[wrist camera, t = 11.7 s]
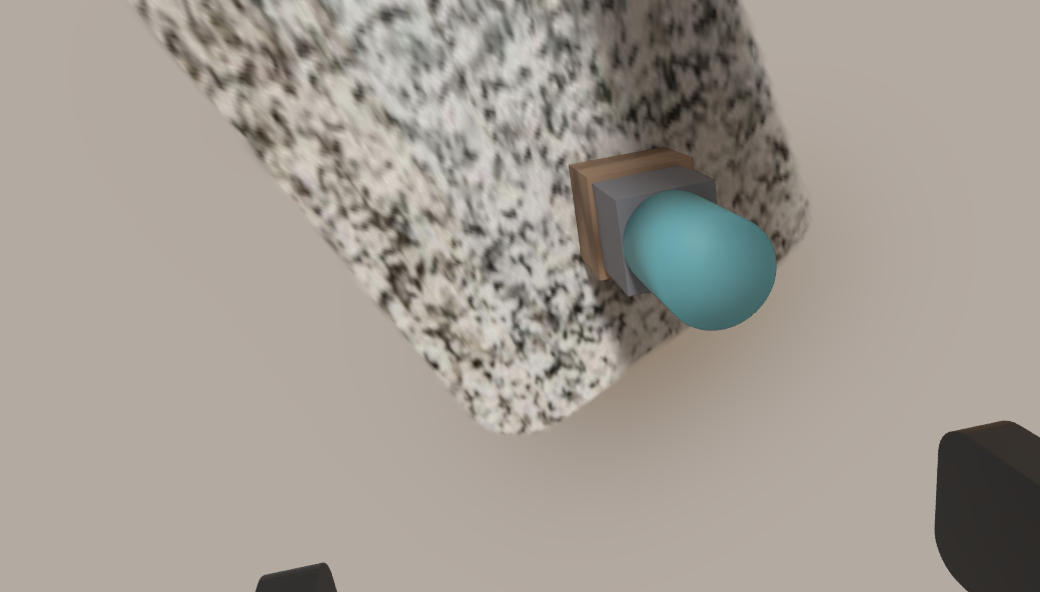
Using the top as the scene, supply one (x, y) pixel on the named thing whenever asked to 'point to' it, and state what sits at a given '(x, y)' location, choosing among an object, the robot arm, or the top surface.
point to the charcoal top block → (621, 201)
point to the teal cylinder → (699, 259)
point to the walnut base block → (606, 170)
